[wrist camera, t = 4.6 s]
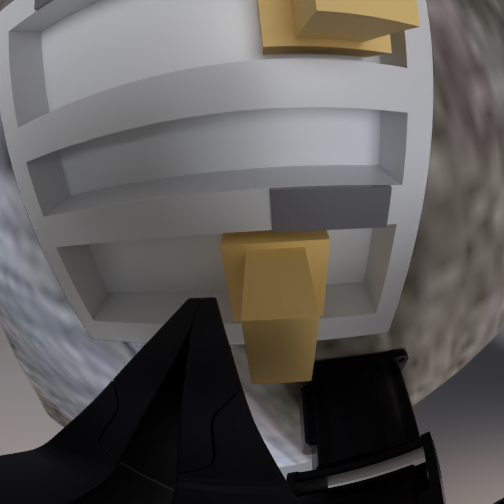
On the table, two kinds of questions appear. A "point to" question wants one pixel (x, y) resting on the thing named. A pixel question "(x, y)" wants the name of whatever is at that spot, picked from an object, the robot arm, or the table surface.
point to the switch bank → (209, 155)
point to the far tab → (277, 298)
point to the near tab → (333, 26)
